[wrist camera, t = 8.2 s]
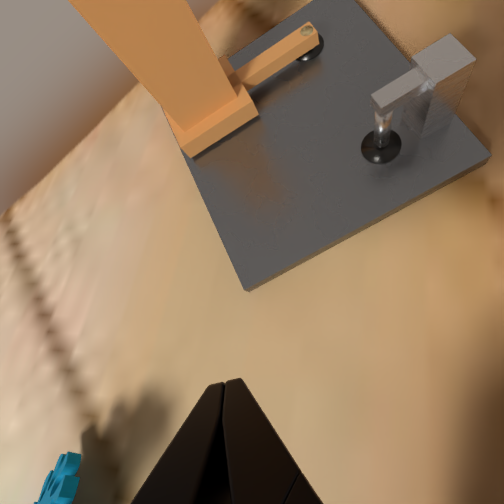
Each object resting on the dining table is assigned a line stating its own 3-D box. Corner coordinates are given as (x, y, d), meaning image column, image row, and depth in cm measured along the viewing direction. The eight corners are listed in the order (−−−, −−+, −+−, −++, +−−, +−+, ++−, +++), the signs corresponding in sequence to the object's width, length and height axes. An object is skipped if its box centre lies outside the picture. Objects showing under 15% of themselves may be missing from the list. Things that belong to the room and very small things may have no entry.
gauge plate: (486, 163, 20) (532, 97, 14) (249, 292, 23) (211, 277, 17) (339, -5, 26) (332, -97, 21) (167, 112, 29) (120, 59, 23)
